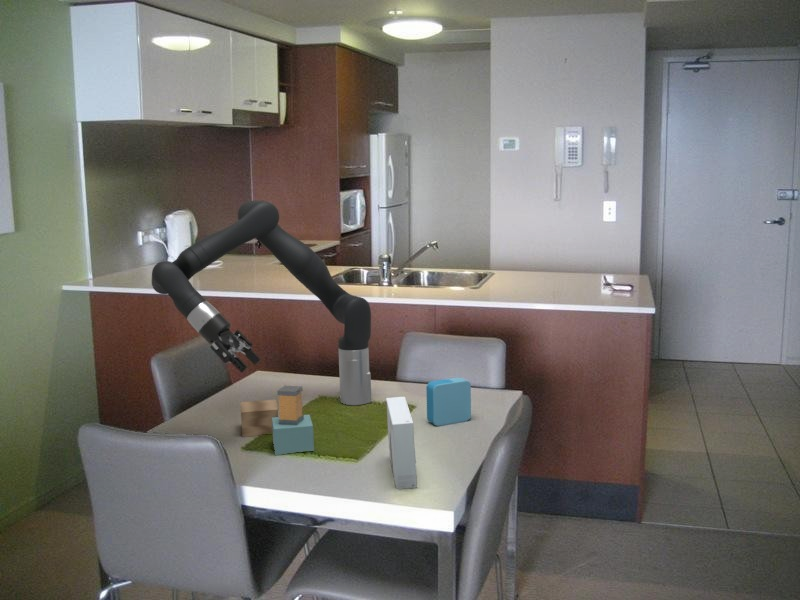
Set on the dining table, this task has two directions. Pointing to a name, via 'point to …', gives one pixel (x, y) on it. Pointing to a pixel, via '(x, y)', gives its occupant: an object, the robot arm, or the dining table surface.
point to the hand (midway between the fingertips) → (251, 366)
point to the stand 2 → (293, 436)
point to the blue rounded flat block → (448, 401)
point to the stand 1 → (258, 417)
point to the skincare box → (401, 443)
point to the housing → (290, 405)
